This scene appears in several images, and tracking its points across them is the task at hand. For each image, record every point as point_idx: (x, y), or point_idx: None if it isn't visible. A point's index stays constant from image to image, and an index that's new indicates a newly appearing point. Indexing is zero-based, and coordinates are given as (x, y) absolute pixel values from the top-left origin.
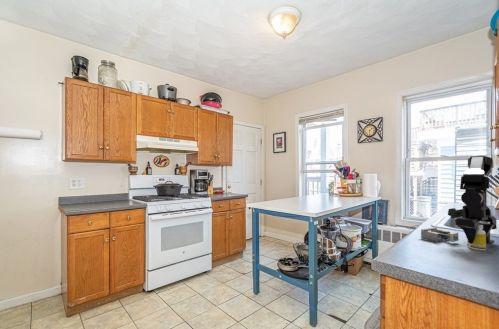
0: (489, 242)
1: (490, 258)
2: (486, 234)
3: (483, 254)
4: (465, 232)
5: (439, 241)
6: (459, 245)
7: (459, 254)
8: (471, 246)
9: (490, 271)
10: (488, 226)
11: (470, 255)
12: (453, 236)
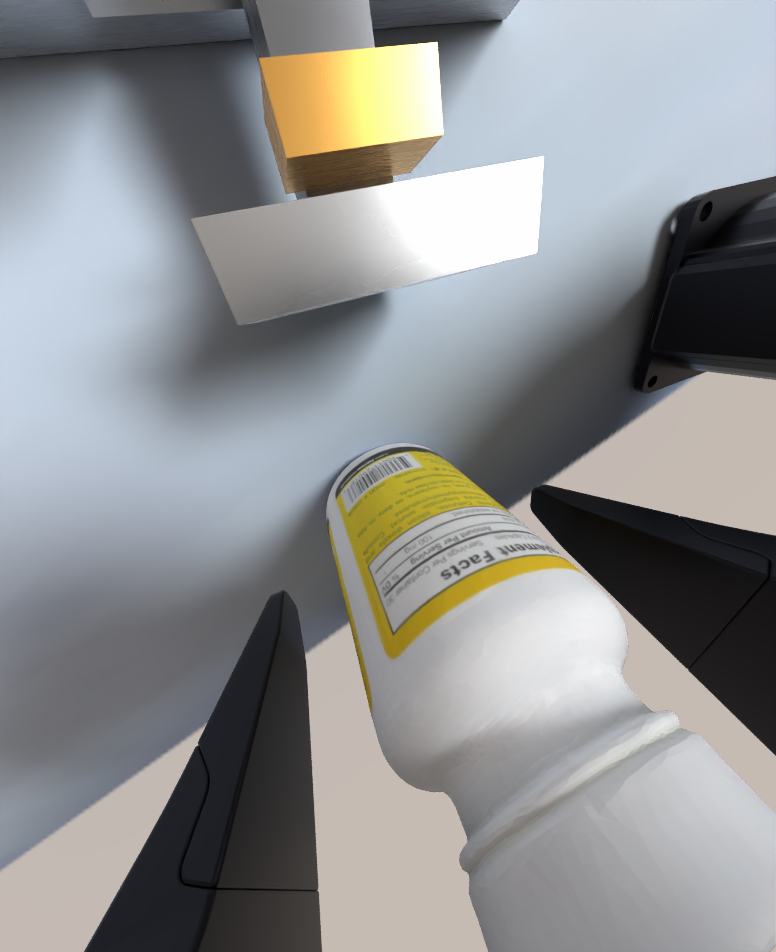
0: (663, 384)
1: None
2: (602, 584)
3: None
4: (160, 848)
5: (39, 39)
6: (317, 384)
7: (2, 659)
8: (328, 529)
9: (14, 848)
10: (764, 715)
11: (127, 659)
12: (280, 316)
